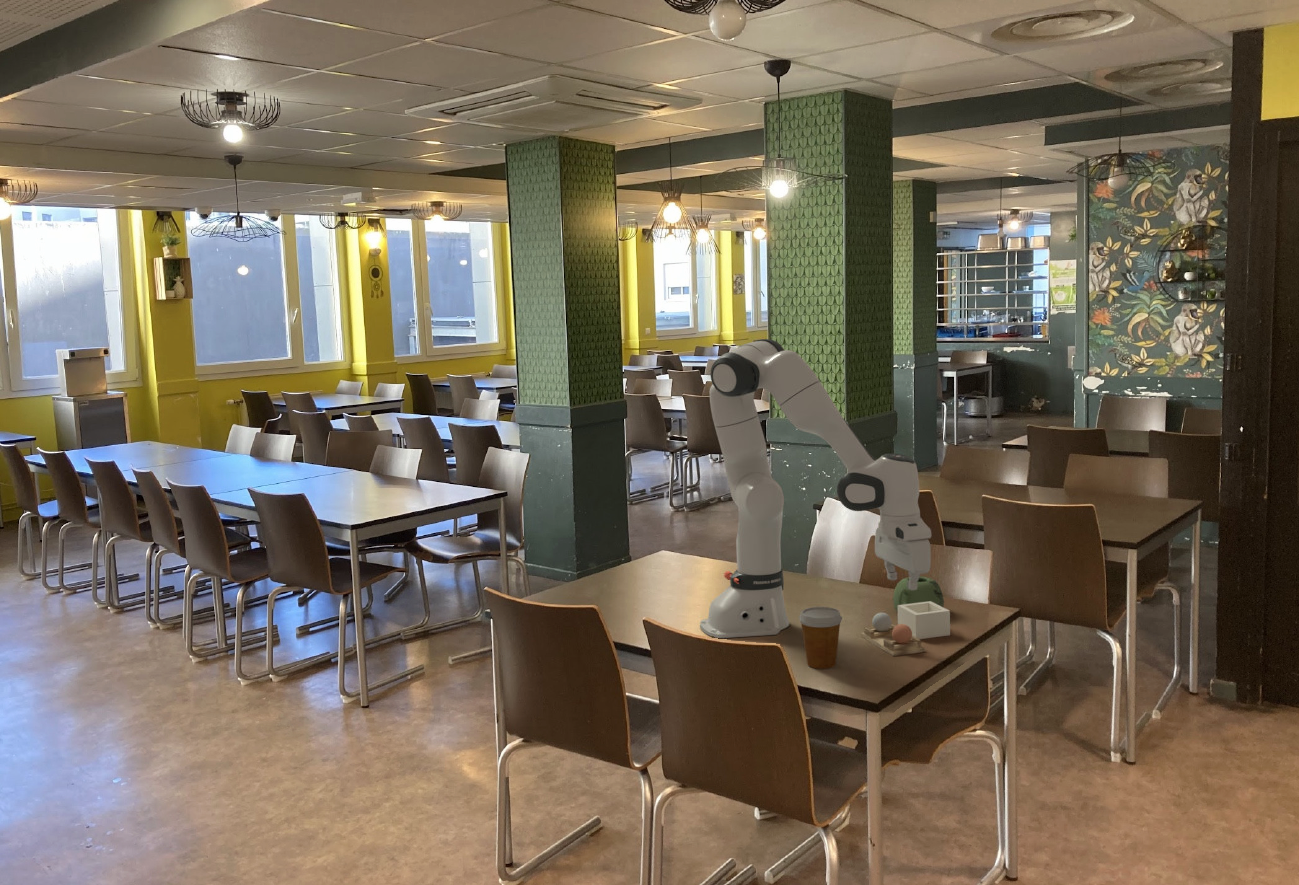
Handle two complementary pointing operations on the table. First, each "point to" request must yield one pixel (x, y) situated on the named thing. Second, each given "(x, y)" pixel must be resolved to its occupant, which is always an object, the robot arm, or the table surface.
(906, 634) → the red ball
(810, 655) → the disposable coffee cup
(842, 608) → the table surface
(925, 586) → the green rounded piece
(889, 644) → the rack
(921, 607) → the white open box
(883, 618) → the grey ball
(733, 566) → the table surface
